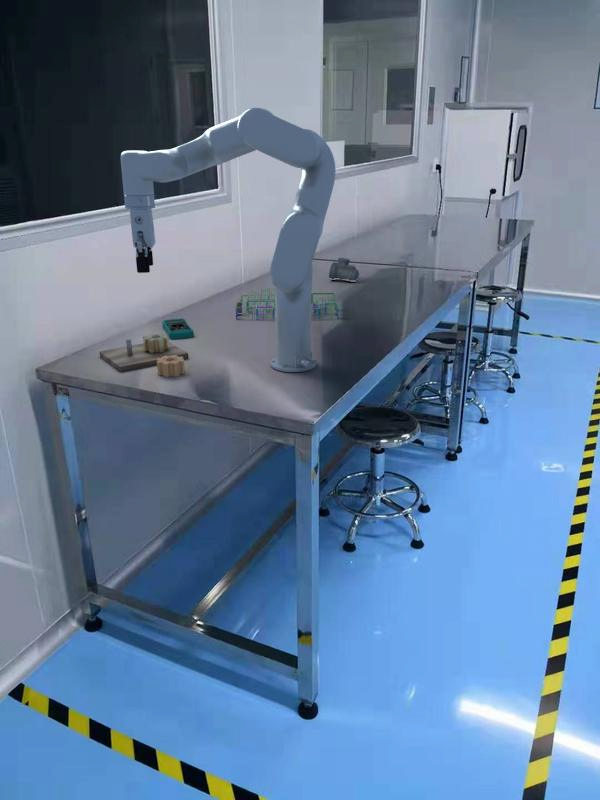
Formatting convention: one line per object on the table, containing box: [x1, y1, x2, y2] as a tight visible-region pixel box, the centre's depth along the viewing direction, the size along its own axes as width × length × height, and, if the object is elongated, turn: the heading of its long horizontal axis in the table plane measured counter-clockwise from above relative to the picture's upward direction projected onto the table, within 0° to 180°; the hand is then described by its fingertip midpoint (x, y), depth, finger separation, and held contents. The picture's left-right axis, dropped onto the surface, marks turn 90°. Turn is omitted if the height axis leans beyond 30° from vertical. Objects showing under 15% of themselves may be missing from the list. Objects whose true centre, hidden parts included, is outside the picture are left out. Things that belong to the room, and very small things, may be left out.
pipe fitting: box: [328, 257, 360, 280], centre depth 277 cm, size 12×8×10 cm
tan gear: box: [156, 355, 186, 378], centre depth 172 cm, size 7×7×4 cm
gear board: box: [99, 333, 189, 373], centre depth 183 cm, size 16×20×6 cm
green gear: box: [142, 332, 170, 353], centre depth 185 cm, size 7×7×4 cm
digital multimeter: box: [161, 317, 195, 340], centre depth 207 cm, size 8×15×3 cm, turn 20°
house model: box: [235, 287, 339, 321], centre depth 234 cm, size 35×30×5 cm
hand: (145, 268), depth 172 cm, fingers open, 9 cm apart
